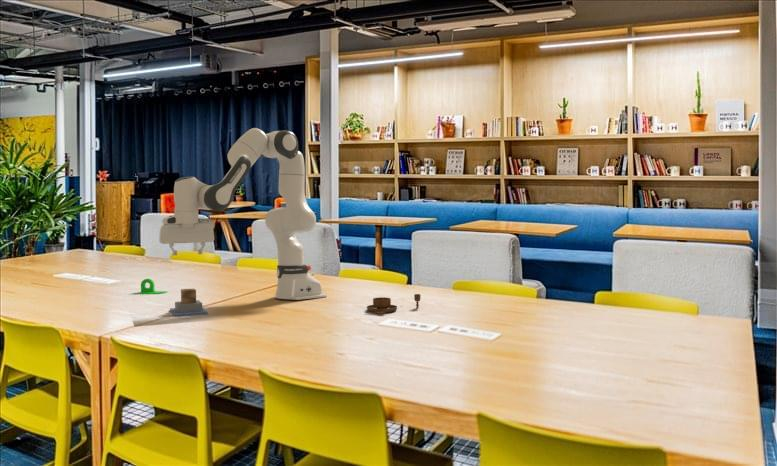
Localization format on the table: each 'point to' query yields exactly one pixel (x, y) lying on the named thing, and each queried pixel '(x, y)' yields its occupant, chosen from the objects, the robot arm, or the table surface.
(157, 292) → the mechanical part
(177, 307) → the base
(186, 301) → the walnut cube
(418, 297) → the place setting
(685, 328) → the table surface
